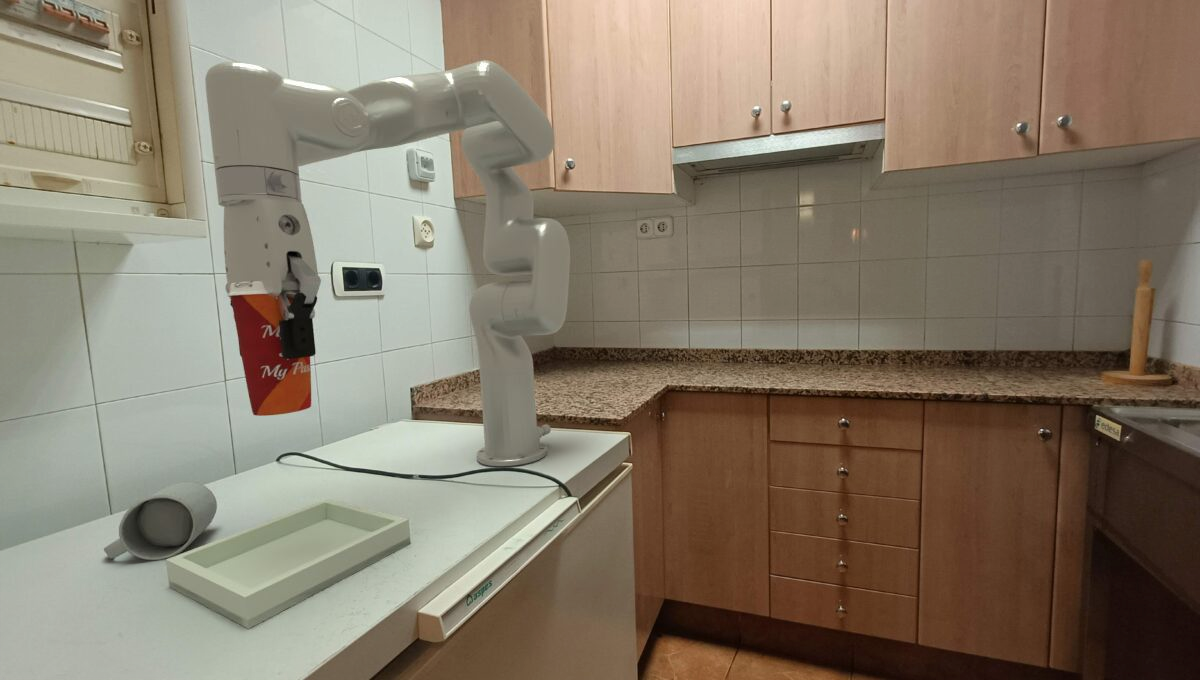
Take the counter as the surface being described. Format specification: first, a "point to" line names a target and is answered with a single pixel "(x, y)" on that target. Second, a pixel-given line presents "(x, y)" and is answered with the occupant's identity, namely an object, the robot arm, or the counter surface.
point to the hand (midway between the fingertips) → (277, 355)
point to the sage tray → (285, 559)
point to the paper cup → (268, 352)
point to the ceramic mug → (165, 522)
